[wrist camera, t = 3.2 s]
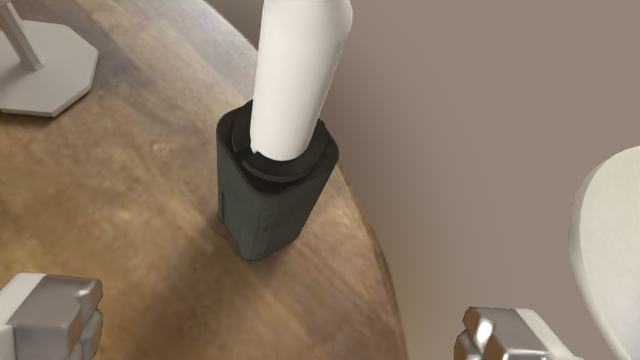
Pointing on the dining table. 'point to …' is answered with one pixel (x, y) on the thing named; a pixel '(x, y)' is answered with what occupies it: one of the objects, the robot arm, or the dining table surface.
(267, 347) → the dining table surface
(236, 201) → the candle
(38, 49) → the wineglass
